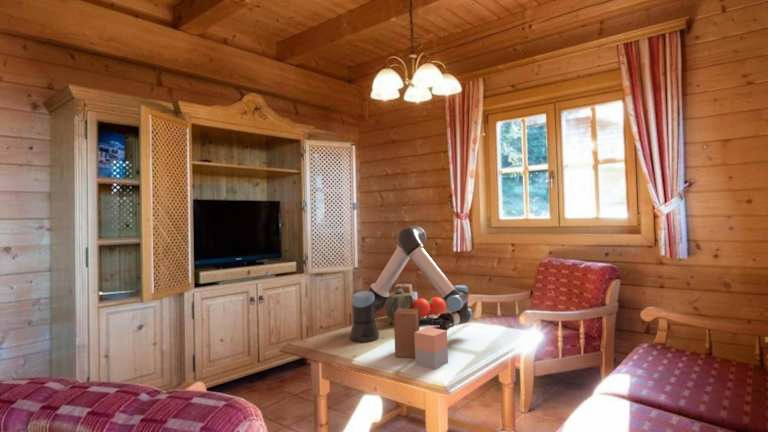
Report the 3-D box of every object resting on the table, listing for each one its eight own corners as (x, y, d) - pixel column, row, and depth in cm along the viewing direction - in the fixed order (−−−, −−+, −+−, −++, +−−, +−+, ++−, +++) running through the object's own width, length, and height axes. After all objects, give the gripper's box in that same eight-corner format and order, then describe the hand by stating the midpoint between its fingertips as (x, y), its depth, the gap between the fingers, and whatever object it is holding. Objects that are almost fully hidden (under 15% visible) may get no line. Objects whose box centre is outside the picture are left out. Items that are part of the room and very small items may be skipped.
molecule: (435, 317, 273) (439, 293, 269) (445, 325, 263) (450, 300, 260) (399, 320, 260) (404, 295, 257) (409, 329, 251) (414, 303, 248)
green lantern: (394, 319, 271) (393, 286, 271) (397, 315, 281) (396, 283, 281) (410, 319, 269) (409, 286, 269) (413, 315, 279) (412, 283, 279)
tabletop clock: (404, 320, 268) (403, 278, 268) (414, 323, 261) (413, 280, 260) (385, 324, 259) (384, 281, 259) (395, 327, 252) (394, 283, 251)
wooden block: (417, 358, 199) (415, 313, 199) (394, 357, 201) (393, 313, 201) (419, 351, 209) (418, 308, 208) (398, 350, 211) (397, 308, 210)
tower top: (414, 348, 191) (414, 332, 191) (427, 342, 198) (427, 327, 198) (434, 352, 184) (434, 335, 184) (447, 346, 192) (446, 330, 192)
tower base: (415, 364, 191) (415, 348, 191) (428, 358, 198) (428, 342, 198) (435, 369, 184) (434, 352, 184) (448, 362, 192) (447, 346, 192)
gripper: (468, 332, 213) (438, 341, 199) (430, 322, 232) (400, 331, 218) (468, 316, 213) (437, 324, 199) (429, 308, 232) (399, 315, 218)
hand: (418, 328), depth 208 cm, fingers open, 13 cm apart
